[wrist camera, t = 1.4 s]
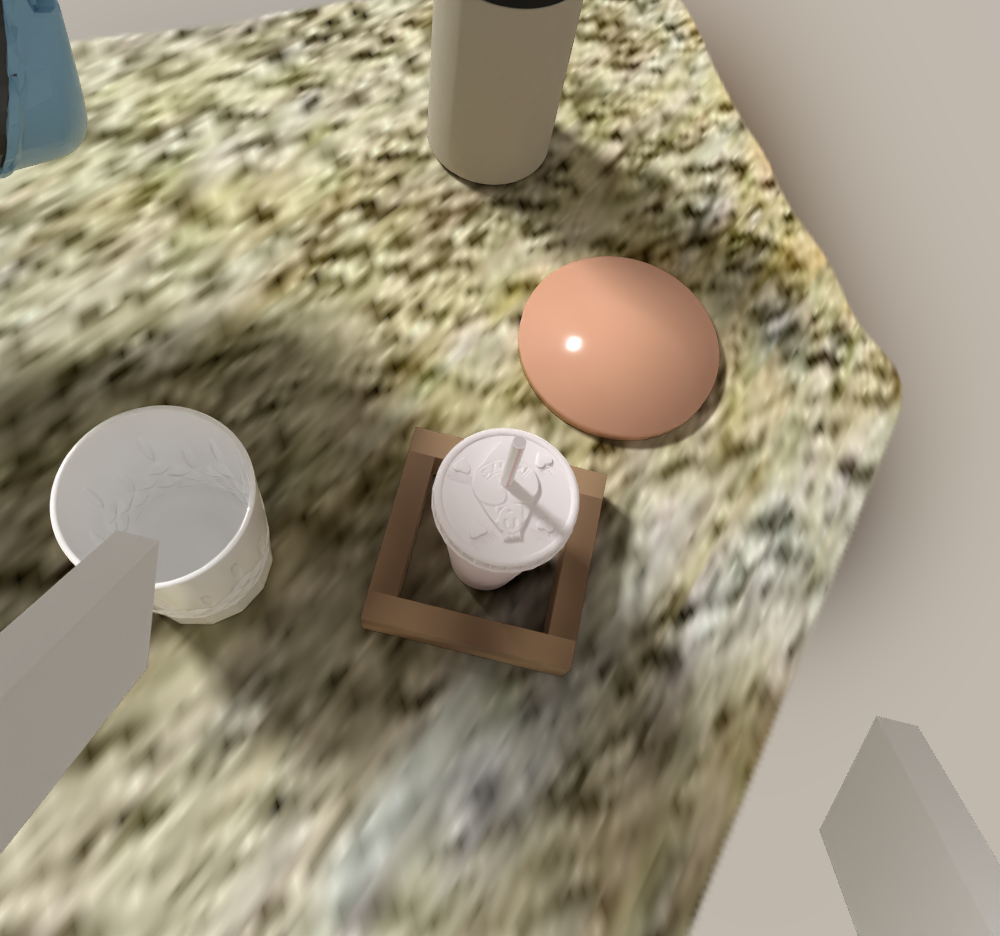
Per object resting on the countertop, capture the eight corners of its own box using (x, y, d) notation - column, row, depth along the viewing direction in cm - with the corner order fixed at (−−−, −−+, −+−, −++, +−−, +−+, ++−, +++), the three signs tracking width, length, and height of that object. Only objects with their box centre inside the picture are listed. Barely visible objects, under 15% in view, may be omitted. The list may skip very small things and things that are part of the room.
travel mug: (421, 180, 54) (434, -101, 37) (432, 85, 57) (447, -214, 40) (546, 195, 54) (613, -74, 38) (550, 100, 57) (613, -188, 41)
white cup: (157, 472, 45) (95, 385, 35) (304, 507, 45) (280, 429, 36) (99, 617, 42) (15, 563, 32) (256, 654, 42) (217, 611, 33)
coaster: (482, 303, 51) (484, 295, 50) (650, 239, 54) (653, 231, 53) (579, 472, 47) (582, 467, 47) (752, 394, 51) (757, 387, 50)
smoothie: (536, 495, 47) (590, 375, 34) (552, 610, 44) (617, 529, 31) (419, 504, 46) (428, 384, 33) (430, 622, 43) (445, 544, 30)
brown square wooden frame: (362, 628, 43) (360, 617, 41) (414, 445, 47) (415, 426, 45) (561, 677, 43) (571, 669, 41) (596, 491, 47) (607, 475, 45)
